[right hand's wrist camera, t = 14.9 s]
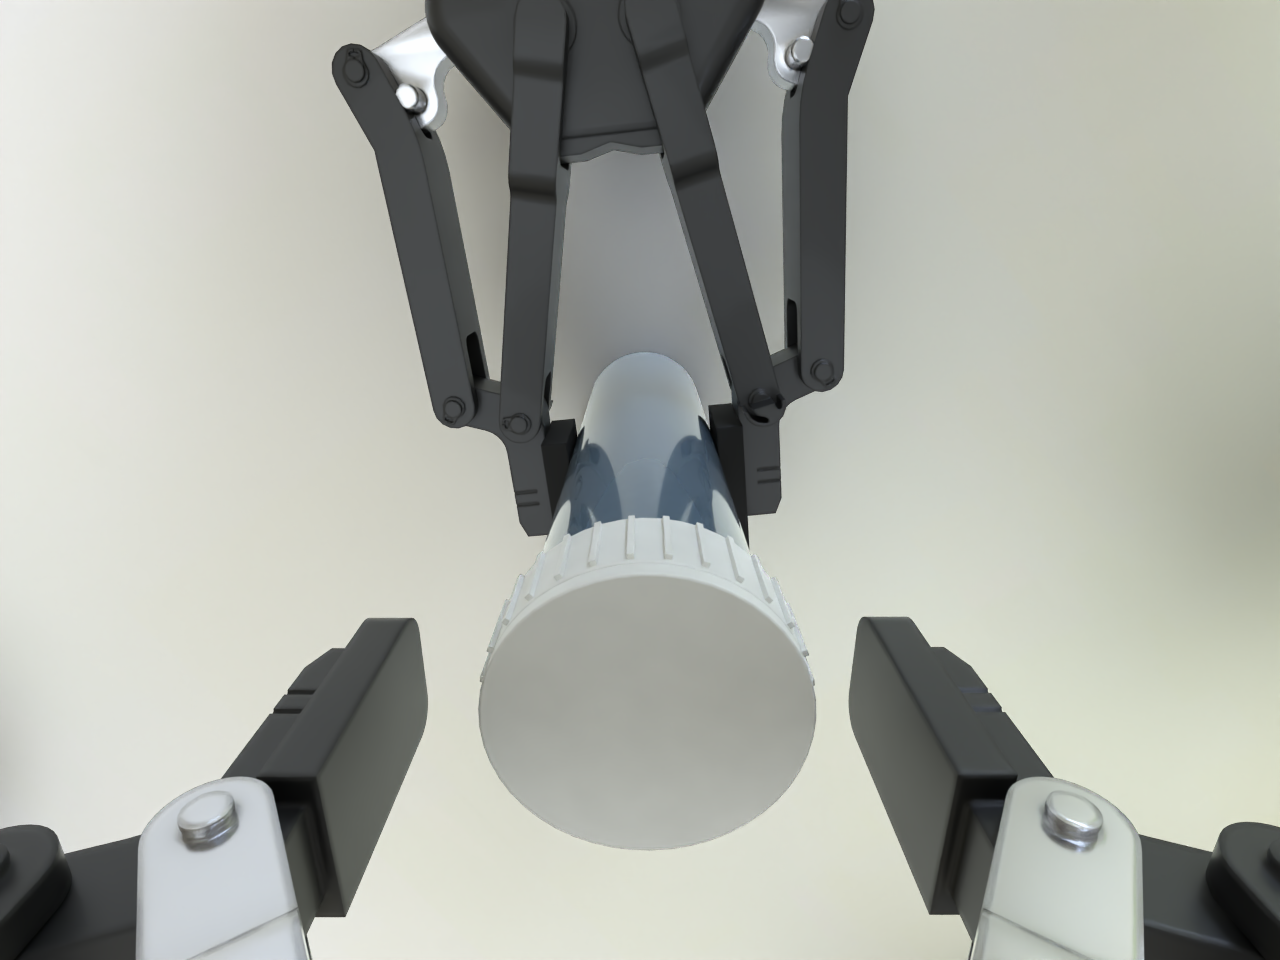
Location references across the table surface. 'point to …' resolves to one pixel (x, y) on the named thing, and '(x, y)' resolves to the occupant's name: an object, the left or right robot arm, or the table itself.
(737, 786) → the lid
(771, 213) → the table surface
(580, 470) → the blue slim bottle
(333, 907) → the right robot arm
